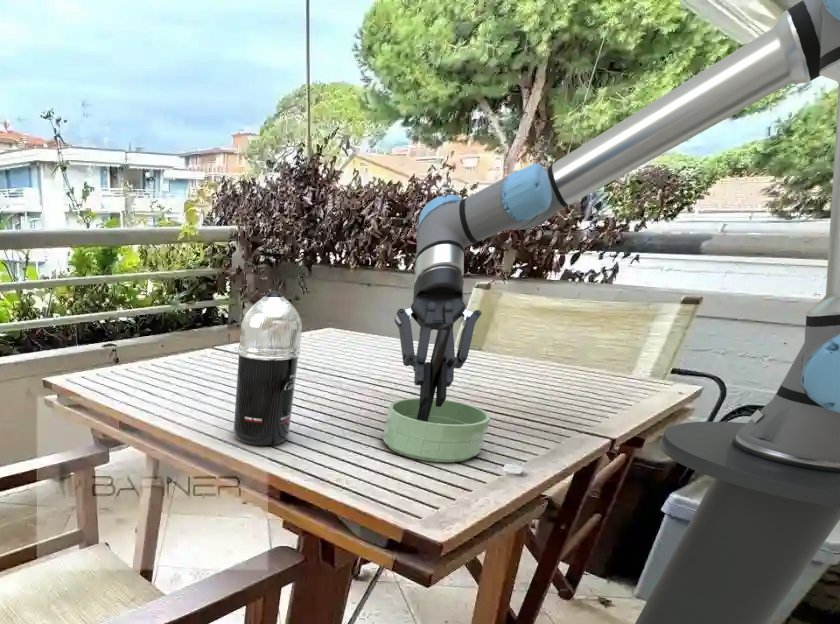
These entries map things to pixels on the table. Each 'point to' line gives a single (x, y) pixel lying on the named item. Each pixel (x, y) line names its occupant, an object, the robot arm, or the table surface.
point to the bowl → (436, 430)
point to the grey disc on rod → (435, 368)
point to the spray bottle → (267, 371)
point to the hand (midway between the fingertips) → (432, 401)
